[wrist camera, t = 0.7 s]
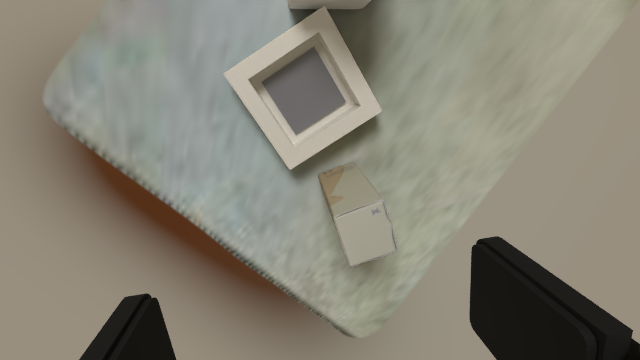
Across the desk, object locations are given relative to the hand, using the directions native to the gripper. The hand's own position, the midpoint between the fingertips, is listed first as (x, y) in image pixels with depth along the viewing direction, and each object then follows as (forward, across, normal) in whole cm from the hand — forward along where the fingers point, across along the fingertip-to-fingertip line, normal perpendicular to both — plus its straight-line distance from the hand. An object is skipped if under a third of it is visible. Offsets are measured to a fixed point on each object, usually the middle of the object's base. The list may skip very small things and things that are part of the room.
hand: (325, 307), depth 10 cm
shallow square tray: (+26, -2, -5) cm, 26 cm away
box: (+26, -5, +6) cm, 27 cm away
